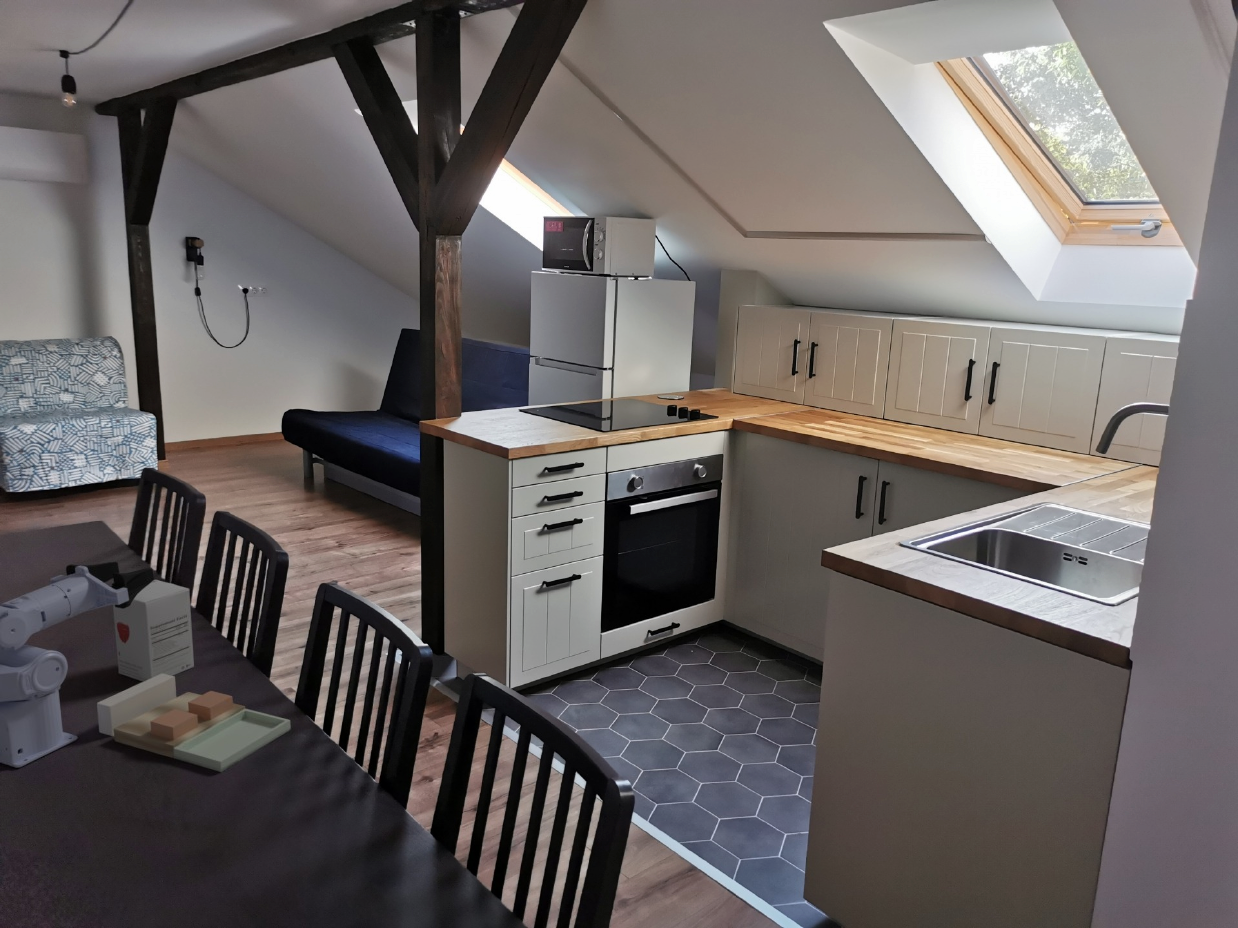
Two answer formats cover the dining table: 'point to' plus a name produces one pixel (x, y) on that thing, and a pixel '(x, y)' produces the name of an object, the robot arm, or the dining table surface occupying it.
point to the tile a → (174, 724)
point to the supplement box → (155, 632)
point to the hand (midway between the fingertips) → (134, 570)
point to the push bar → (135, 702)
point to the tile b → (210, 705)
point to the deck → (141, 737)
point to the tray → (232, 740)
